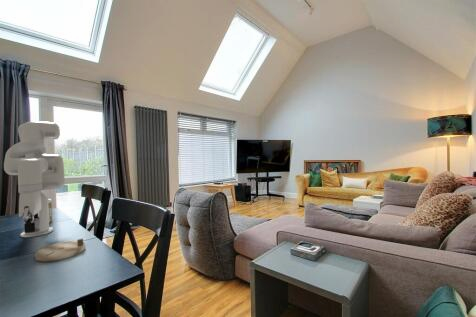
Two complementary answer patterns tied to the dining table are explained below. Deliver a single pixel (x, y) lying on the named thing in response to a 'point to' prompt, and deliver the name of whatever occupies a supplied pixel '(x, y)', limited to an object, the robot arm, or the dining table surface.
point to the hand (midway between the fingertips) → (32, 229)
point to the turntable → (60, 250)
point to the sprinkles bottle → (50, 208)
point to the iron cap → (36, 224)
